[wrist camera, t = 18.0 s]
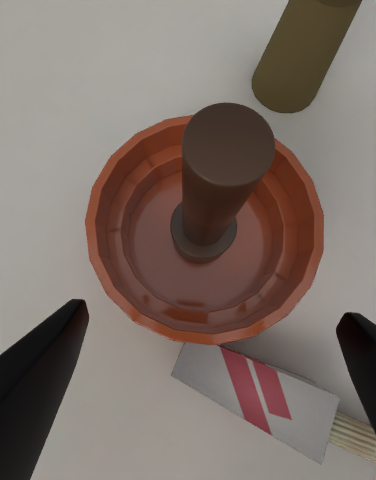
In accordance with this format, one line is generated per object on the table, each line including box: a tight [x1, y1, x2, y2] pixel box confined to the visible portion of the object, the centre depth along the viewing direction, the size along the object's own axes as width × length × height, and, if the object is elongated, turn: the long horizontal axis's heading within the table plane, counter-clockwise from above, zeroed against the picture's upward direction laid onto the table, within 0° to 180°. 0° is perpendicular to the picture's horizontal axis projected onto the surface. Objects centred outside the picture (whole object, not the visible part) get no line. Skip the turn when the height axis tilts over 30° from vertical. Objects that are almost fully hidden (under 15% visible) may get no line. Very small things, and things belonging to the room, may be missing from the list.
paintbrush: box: [171, 342, 376, 465], centre depth 16 cm, size 4×3×20 cm
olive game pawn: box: [252, 0, 362, 113], centre depth 17 cm, size 6×6×11 cm
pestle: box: [170, 103, 275, 263], centre depth 13 cm, size 4×4×12 cm
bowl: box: [85, 115, 324, 345], centre depth 17 cm, size 14×14×5 cm
